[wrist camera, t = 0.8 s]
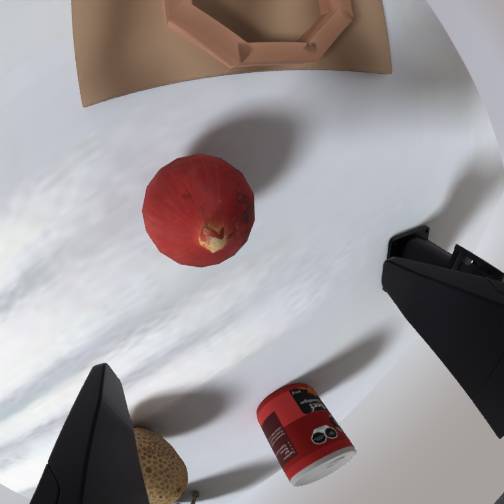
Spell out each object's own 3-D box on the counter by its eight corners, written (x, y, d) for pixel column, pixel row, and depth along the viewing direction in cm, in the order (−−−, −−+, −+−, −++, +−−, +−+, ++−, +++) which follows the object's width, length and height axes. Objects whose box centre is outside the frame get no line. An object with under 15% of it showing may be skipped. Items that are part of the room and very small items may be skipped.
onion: (227, 141, 18) (286, 162, 11) (234, 224, 20) (286, 285, 14) (135, 156, 16) (132, 186, 9) (150, 242, 19) (163, 317, 12)
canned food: (319, 393, 36) (362, 453, 27) (270, 424, 36) (305, 487, 26) (299, 372, 32) (350, 446, 23) (243, 409, 31) (281, 486, 22)
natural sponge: (142, 453, 30) (158, 519, 21) (84, 433, 25) (92, 509, 16) (189, 426, 29) (214, 499, 21) (129, 401, 24) (145, 491, 16)
